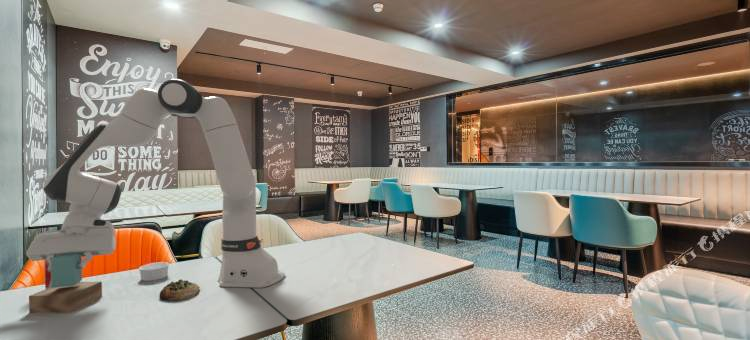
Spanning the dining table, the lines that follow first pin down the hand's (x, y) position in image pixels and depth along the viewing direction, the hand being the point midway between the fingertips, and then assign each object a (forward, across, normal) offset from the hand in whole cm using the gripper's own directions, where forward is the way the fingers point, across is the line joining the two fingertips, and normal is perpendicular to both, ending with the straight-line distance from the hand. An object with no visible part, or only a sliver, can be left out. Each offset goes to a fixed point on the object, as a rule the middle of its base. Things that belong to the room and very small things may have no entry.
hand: (65, 269), depth 98 cm
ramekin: (-6, +18, +21) cm, 28 cm away
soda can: (-3, -8, +18) cm, 20 cm away
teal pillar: (+3, 0, +4) cm, 4 cm away
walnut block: (+7, 0, +8) cm, 11 cm away
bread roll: (+10, +29, +6) cm, 31 cm away
